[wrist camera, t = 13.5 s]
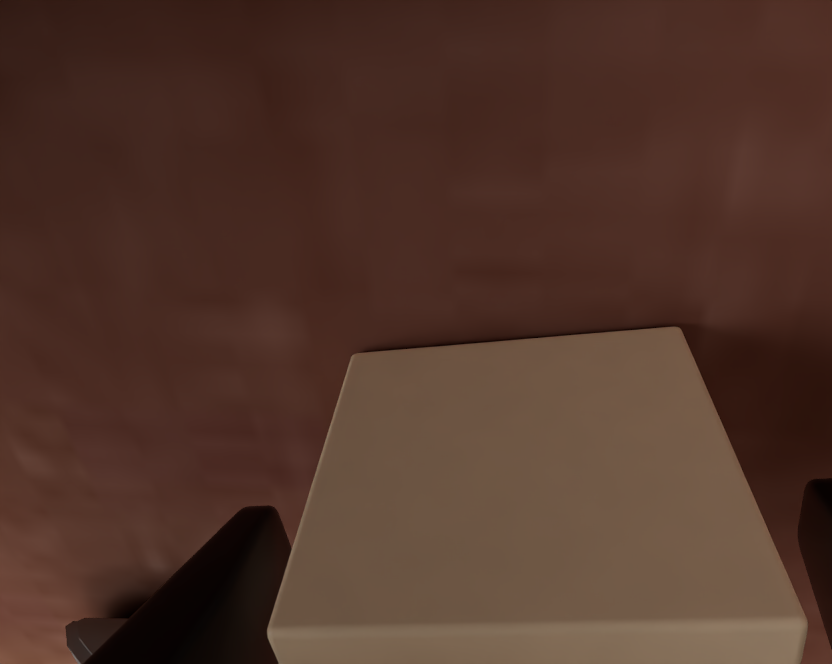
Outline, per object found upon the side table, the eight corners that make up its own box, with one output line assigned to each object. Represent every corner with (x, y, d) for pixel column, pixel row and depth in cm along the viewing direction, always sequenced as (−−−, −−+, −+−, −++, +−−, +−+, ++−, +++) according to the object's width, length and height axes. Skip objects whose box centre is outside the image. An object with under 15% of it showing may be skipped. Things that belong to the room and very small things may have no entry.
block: (681, 323, 8) (815, 624, 5) (671, 555, 10) (759, 881, 7) (350, 350, 9) (260, 635, 5) (403, 564, 11) (362, 866, 7)
